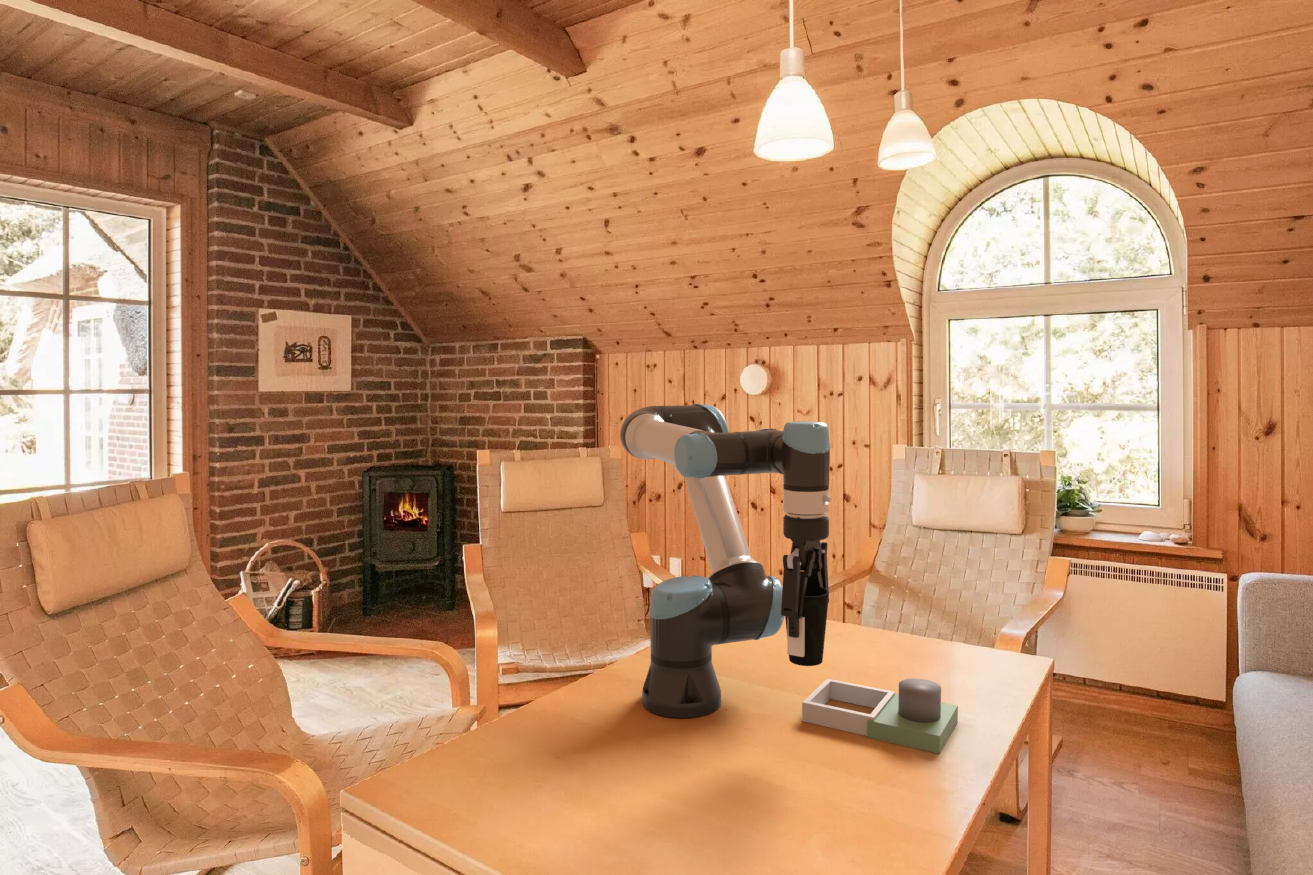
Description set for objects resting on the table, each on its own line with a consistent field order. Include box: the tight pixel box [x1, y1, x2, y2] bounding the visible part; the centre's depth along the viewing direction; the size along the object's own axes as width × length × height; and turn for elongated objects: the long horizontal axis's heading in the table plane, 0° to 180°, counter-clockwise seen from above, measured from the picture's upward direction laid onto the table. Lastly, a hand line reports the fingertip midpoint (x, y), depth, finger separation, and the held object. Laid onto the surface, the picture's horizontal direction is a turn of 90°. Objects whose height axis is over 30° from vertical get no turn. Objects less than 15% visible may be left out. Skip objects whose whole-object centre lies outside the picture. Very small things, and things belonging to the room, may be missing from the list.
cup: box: [784, 585, 830, 667], centre depth 136 cm, size 8×8×12 cm
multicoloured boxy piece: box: [801, 678, 959, 755], centre depth 144 cm, size 24×14×8 cm, turn 58°
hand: (805, 647), depth 137 cm, fingers closed on cup, 8 cm apart
